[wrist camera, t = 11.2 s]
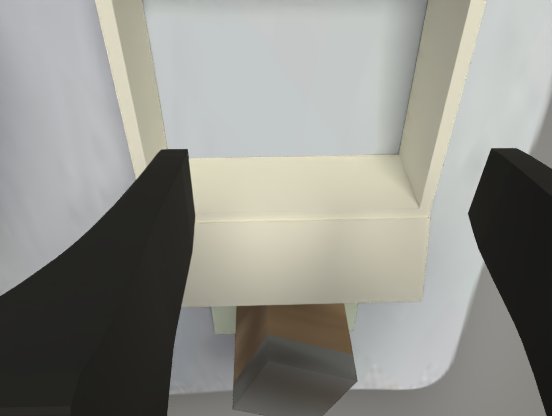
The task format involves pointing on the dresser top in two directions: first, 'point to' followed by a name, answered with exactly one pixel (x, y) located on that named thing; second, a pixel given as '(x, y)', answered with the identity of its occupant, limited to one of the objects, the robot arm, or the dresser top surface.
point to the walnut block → (291, 359)
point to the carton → (307, 183)
